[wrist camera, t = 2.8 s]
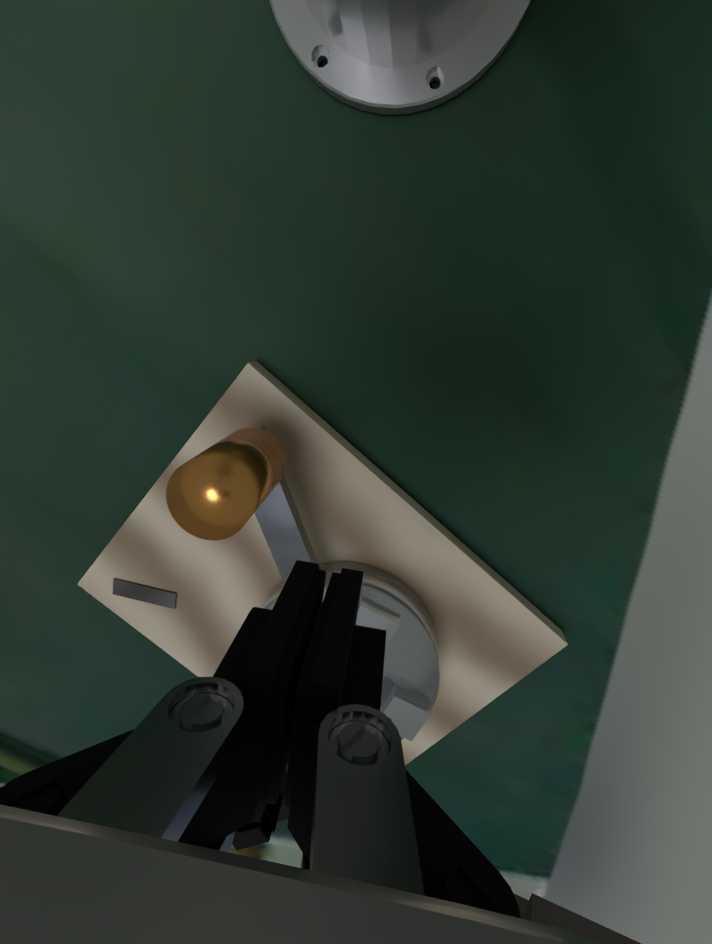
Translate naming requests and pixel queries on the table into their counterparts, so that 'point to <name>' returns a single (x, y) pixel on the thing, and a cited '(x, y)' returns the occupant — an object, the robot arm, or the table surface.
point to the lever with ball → (307, 559)
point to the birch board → (333, 540)
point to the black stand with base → (263, 823)
